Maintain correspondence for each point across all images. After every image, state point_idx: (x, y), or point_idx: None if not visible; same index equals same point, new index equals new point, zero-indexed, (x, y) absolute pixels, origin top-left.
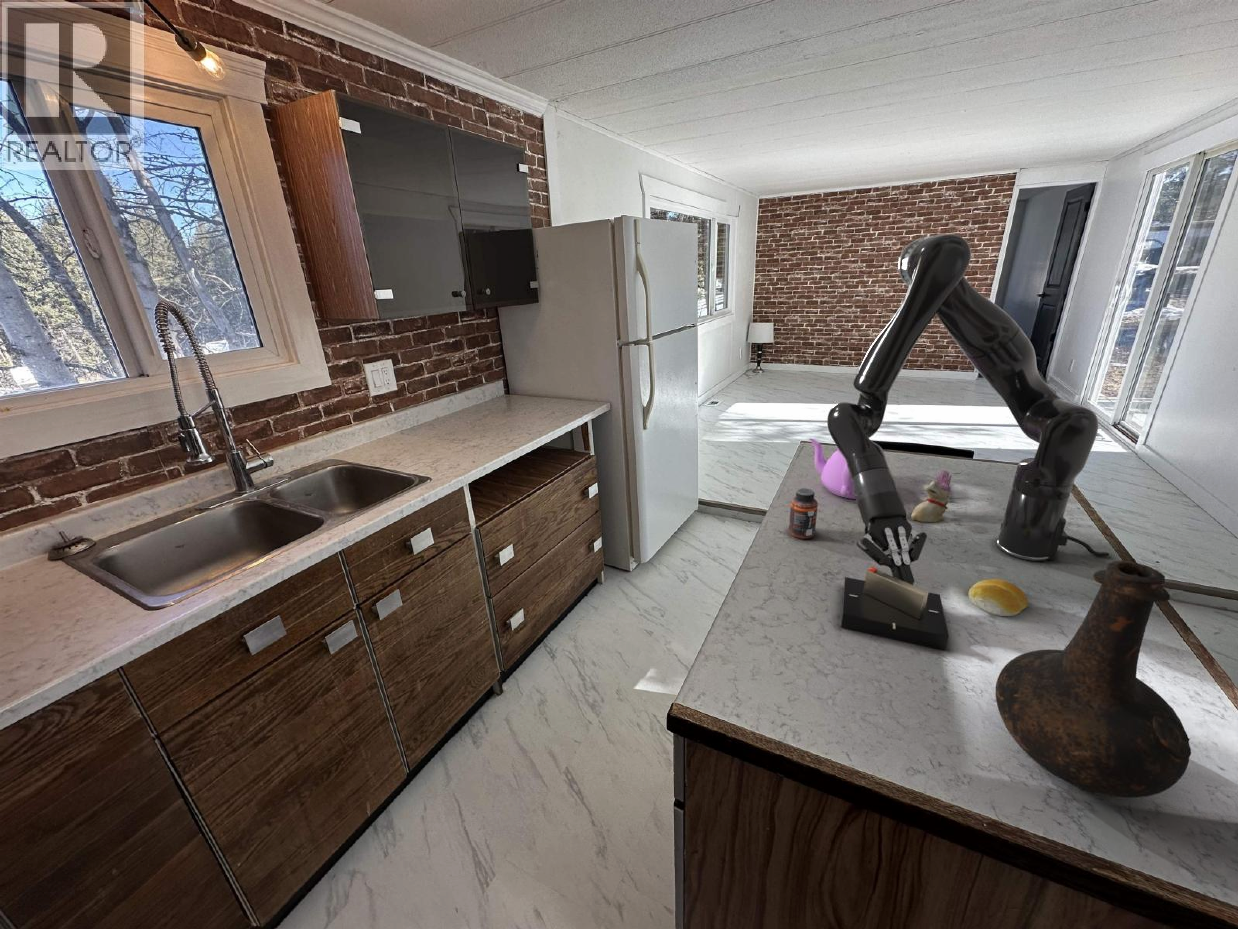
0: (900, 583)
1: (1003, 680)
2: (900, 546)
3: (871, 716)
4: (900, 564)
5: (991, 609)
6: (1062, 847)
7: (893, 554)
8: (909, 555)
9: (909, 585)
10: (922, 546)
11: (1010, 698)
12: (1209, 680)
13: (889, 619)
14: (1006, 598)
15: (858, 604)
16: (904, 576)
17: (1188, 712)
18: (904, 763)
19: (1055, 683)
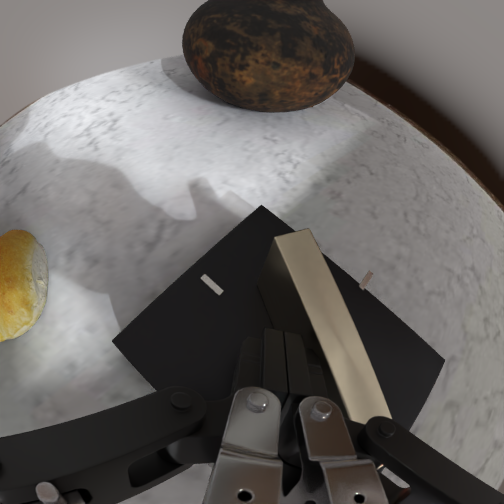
0: (342, 326)
1: (341, 60)
2: (277, 494)
3: (441, 195)
4: (308, 399)
5: (43, 264)
6: (346, 80)
7: (343, 454)
8: (201, 436)
9: (317, 299)
10: (69, 425)
11: (353, 56)
12: (25, 110)
13: (360, 306)
14: (10, 239)
15: (396, 390)
16: (297, 356)
17: (90, 88)
18: (427, 151)
19: (328, 10)
